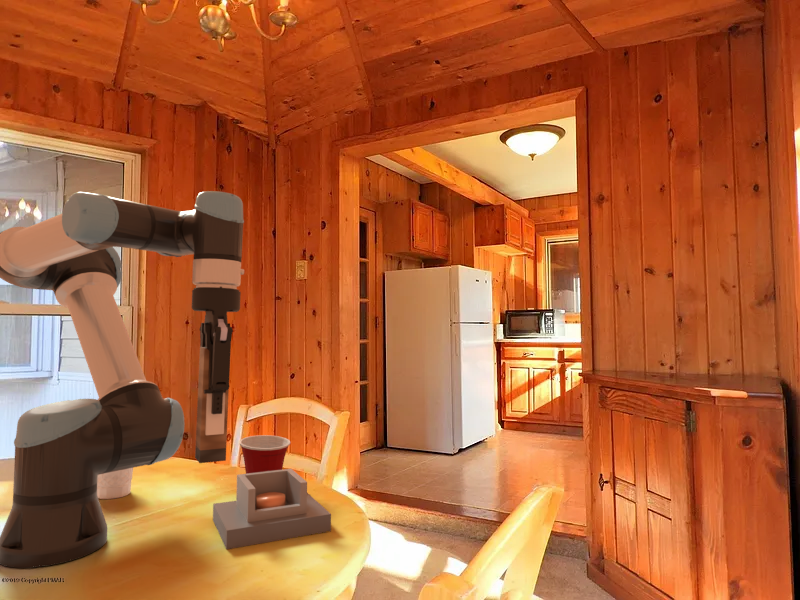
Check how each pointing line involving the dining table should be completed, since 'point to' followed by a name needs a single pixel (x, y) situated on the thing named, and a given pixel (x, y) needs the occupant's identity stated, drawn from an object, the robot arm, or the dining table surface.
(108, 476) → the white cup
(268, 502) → the button
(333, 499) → the dining table surface
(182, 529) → the dining table surface
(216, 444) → the brown wooden block
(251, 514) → the switch panel
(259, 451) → the plastic cup
